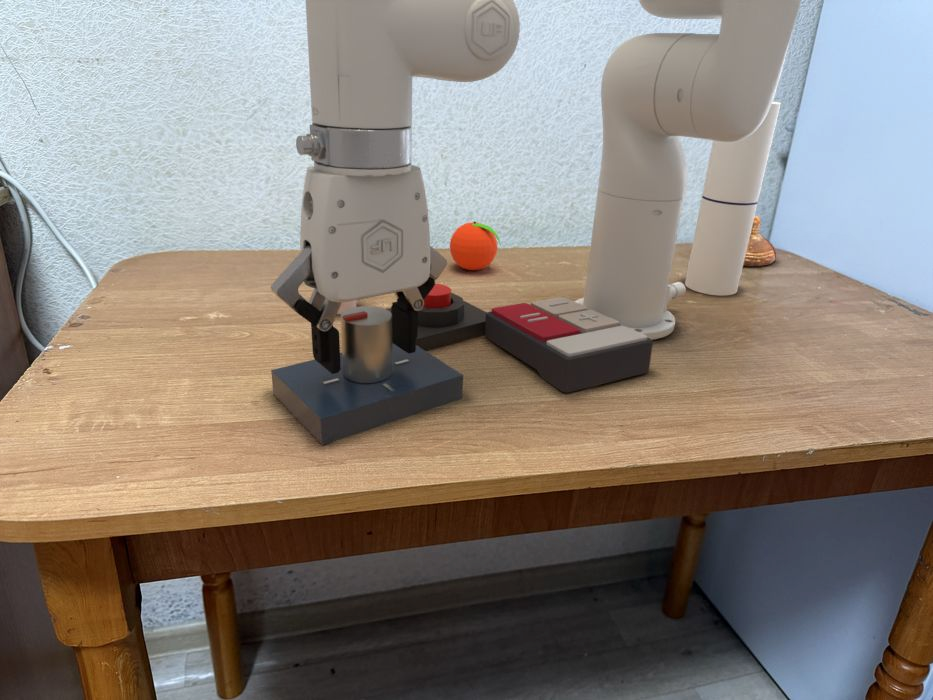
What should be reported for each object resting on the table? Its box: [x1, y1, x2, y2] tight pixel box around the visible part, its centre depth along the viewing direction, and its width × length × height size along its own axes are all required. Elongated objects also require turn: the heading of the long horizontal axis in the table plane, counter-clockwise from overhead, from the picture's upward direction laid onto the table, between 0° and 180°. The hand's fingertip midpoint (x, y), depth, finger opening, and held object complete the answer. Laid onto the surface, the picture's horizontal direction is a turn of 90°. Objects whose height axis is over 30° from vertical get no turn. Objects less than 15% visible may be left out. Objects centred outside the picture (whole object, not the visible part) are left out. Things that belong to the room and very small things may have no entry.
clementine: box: [449, 221, 502, 272], centre depth 93 cm, size 8×7×7 cm
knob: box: [340, 305, 392, 383], centre depth 57 cm, size 4×4×6 cm
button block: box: [385, 292, 488, 351], centre depth 73 cm, size 12×9×4 cm
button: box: [423, 283, 452, 308], centre depth 72 cm, size 4×4×2 cm
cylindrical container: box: [684, 101, 782, 297], centre depth 87 cm, size 7×7×25 cm
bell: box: [743, 215, 777, 267], centre depth 106 cm, size 12×12×7 cm
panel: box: [270, 343, 464, 446], centre depth 58 cm, size 14×10×3 cm
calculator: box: [484, 296, 654, 394], centre depth 68 cm, size 11×4×15 cm
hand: (367, 355), depth 57 cm, fingers open, 6 cm apart
